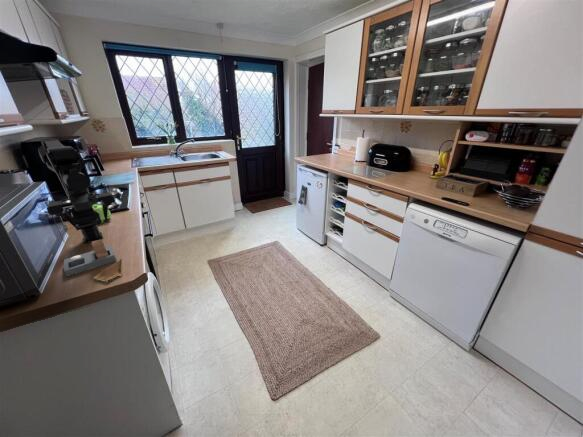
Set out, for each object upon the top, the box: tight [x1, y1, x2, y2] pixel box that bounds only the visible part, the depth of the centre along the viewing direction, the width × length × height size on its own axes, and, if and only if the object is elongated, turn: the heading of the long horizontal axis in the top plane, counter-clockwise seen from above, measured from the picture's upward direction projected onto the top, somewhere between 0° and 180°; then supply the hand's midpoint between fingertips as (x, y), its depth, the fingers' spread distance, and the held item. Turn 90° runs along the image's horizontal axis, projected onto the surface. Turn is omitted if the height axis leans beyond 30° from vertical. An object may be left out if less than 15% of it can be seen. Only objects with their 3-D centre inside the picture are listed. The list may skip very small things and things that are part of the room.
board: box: [63, 241, 117, 277], centre depth 86 cm, size 9×14×6 cm, turn 131°
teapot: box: [92, 203, 112, 224], centre depth 119 cm, size 11×12×8 cm
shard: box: [93, 258, 123, 282], centre depth 82 cm, size 11×8×2 cm
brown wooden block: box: [91, 238, 108, 259], centre depth 87 cm, size 3×3×8 cm
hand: (91, 223), depth 90 cm, fingers open, 9 cm apart
